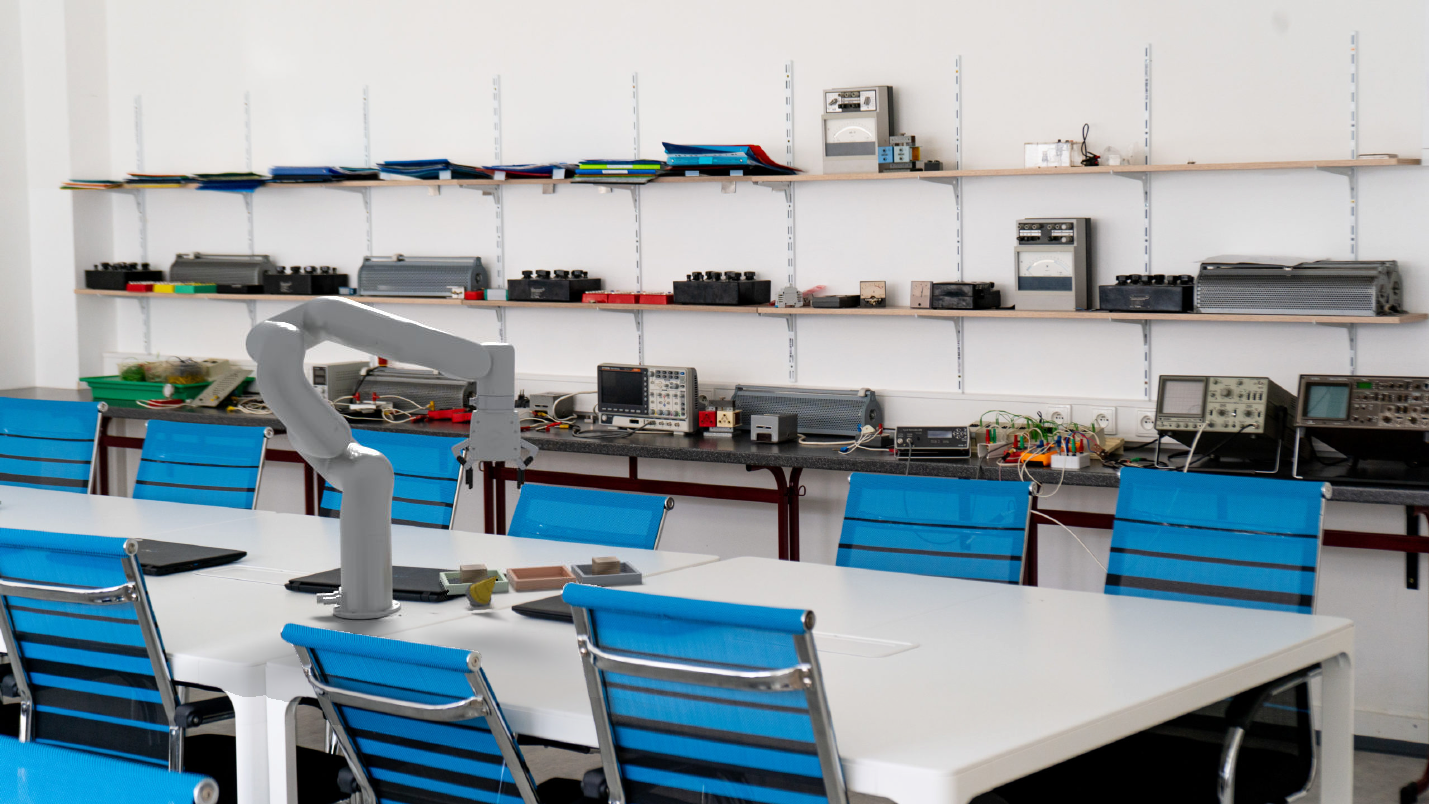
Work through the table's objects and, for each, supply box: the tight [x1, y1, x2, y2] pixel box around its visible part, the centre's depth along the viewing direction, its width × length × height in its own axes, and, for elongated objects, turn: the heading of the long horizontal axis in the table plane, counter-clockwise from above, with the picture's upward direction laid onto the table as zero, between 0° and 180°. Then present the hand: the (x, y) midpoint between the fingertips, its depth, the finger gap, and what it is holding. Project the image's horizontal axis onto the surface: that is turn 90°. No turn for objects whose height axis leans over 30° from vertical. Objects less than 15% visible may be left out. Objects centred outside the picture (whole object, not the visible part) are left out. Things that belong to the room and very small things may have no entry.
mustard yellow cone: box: [465, 575, 498, 607], centre depth 257 cm, size 5×5×10 cm
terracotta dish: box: [505, 564, 577, 592], centre depth 278 cm, size 13×13×2 cm
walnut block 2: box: [591, 556, 621, 576], centre depth 282 cm, size 5×5×4 cm
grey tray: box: [570, 561, 643, 586], centre depth 282 cm, size 13×13×2 cm
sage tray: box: [439, 568, 510, 596], centre depth 273 cm, size 13×13×2 cm
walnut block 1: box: [459, 563, 488, 584], centre depth 273 cm, size 5×5×4 cm
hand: (494, 488), depth 267 cm, fingers open, 9 cm apart
